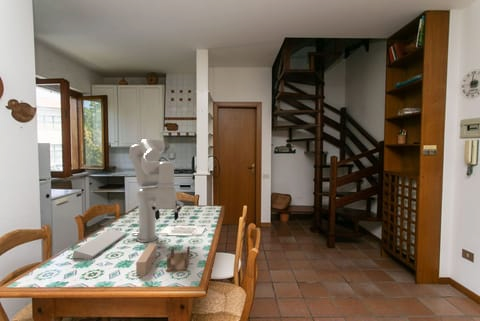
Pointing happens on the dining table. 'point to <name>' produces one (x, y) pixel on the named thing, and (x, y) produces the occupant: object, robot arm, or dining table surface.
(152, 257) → the clay strip
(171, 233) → the tray
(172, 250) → the rack
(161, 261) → the dining table surface
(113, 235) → the decorative molding
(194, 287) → the dining table surface
